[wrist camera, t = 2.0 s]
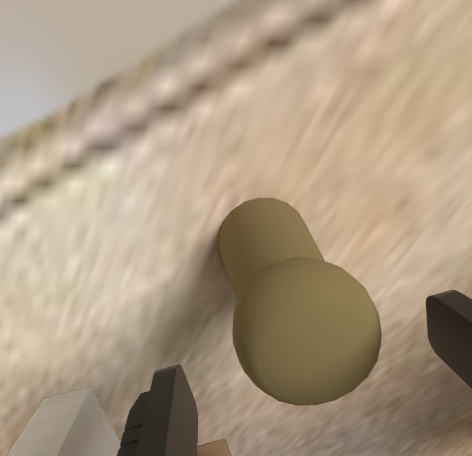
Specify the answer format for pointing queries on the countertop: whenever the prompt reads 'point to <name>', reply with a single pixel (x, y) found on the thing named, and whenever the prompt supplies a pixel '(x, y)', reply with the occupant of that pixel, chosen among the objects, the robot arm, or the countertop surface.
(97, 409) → the white tall box
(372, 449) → the countertop surface
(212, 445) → the walnut base
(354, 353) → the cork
